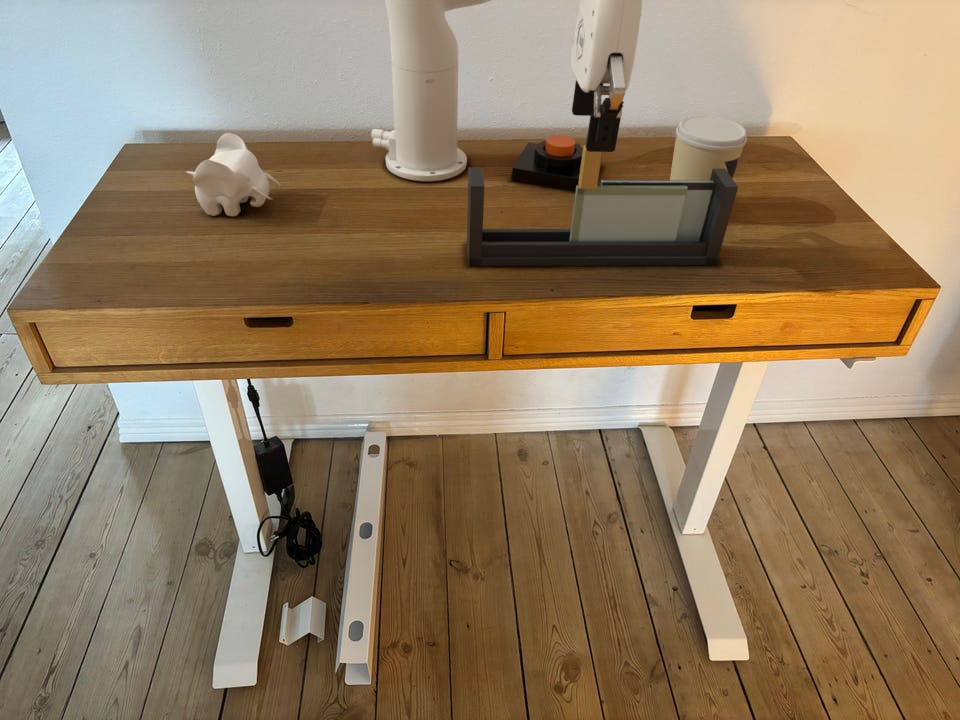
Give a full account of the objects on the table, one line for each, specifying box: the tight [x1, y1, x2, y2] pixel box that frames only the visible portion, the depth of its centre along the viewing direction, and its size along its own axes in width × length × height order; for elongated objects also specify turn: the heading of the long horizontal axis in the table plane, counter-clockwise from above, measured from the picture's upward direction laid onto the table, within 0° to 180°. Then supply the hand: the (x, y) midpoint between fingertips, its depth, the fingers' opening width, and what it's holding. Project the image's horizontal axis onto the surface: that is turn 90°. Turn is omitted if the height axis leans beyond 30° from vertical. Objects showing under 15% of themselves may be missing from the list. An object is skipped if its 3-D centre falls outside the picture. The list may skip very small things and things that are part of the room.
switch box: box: [511, 139, 604, 193], centre depth 112 cm, size 12×10×4 cm
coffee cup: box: [669, 114, 748, 181], centre depth 102 cm, size 9×9×12 cm
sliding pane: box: [569, 144, 688, 242], centre depth 90 cm, size 14×1×14 cm, turn 94°
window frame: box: [466, 167, 739, 267], centre depth 92 cm, size 32×5×11 cm, turn 94°
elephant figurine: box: [186, 132, 282, 217], centre depth 99 cm, size 10×12×9 cm
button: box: [545, 134, 576, 157], centre depth 110 cm, size 4×4×2 cm
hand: (592, 131), depth 84 cm, fingers open, 9 cm apart
